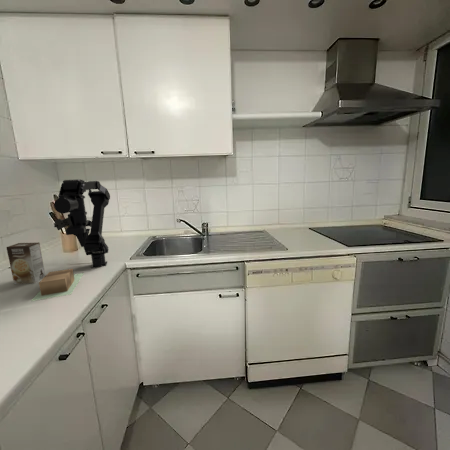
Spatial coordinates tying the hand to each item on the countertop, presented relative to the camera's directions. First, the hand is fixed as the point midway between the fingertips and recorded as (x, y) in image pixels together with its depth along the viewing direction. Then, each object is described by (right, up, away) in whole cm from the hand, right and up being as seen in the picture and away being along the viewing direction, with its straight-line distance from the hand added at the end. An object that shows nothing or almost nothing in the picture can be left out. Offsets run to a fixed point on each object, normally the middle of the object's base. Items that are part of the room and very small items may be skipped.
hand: (83, 246), depth 101 cm
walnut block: (-5, -11, -5) cm, 14 cm away
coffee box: (-21, -15, -1) cm, 26 cm away
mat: (-4, -15, -8) cm, 17 cm away
